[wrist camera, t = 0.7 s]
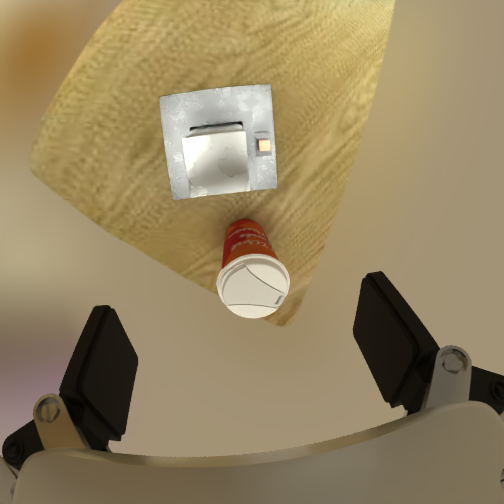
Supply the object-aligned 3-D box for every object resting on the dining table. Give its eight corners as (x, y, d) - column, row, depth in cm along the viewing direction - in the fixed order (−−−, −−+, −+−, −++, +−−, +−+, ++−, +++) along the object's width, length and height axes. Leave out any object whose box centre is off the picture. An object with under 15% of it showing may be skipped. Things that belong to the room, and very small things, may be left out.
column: (199, 126, 32) (178, 136, 16) (235, 122, 33) (248, 127, 17) (203, 160, 34) (187, 201, 18) (238, 156, 35) (253, 193, 19)
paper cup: (279, 223, 41) (305, 274, 28) (257, 266, 44) (271, 328, 31) (229, 203, 39) (233, 248, 26) (209, 250, 42) (205, 310, 29)
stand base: (160, 97, 31) (136, 91, 21) (269, 85, 32) (288, 73, 22) (174, 198, 37) (158, 228, 28) (276, 186, 38) (295, 212, 28)
